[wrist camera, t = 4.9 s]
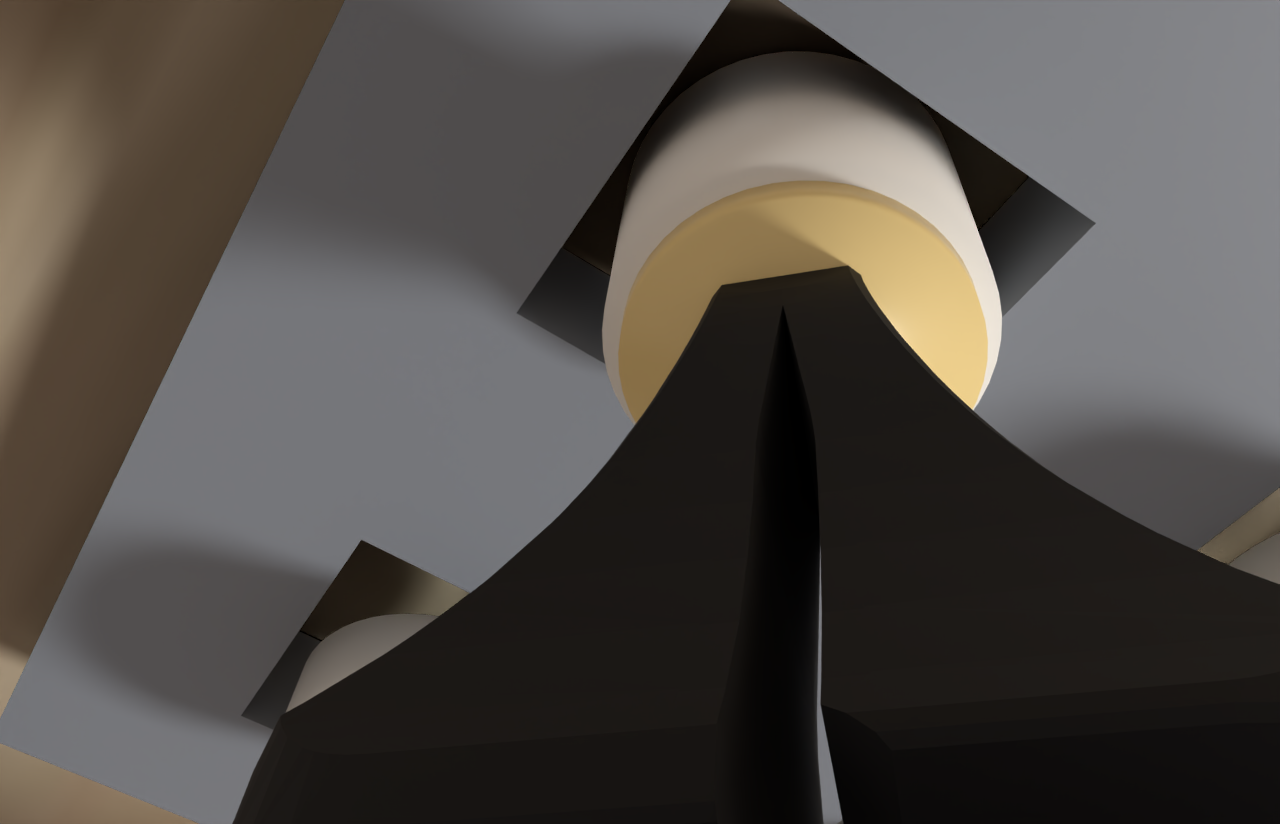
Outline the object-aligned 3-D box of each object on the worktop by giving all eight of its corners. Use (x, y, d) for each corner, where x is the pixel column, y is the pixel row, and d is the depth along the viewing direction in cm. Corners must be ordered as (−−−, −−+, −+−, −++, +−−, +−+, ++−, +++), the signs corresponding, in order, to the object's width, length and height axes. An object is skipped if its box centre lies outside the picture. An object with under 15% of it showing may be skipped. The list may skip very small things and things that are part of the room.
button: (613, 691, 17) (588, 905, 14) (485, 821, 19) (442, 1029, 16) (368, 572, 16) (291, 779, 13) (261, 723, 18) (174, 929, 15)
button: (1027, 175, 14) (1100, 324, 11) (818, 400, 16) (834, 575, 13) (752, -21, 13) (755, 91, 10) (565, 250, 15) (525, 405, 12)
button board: (1903, 447, 16) (2036, 547, 14) (917, 1022, 26) (929, 1118, 24) (662, -600, 10) (647, -632, 9) (49, 648, 21) (-10, 739, 19)
